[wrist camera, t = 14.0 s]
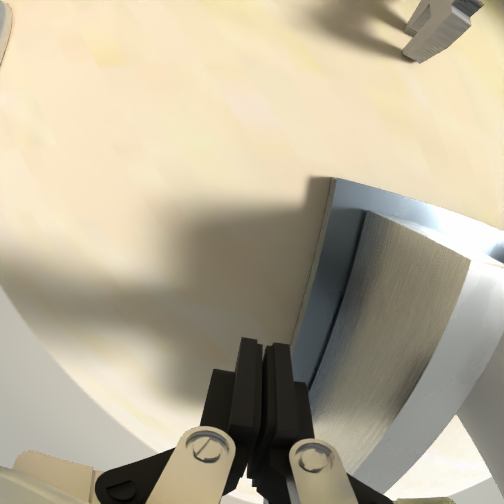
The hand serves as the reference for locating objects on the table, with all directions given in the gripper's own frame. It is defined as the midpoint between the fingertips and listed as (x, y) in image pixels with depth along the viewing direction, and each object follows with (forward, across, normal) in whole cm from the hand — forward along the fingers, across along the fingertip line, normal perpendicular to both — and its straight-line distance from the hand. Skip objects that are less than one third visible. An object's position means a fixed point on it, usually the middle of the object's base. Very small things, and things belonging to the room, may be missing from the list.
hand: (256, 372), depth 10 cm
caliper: (+5, -6, -24) cm, 26 cm away
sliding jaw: (+3, -5, 0) cm, 6 cm away
